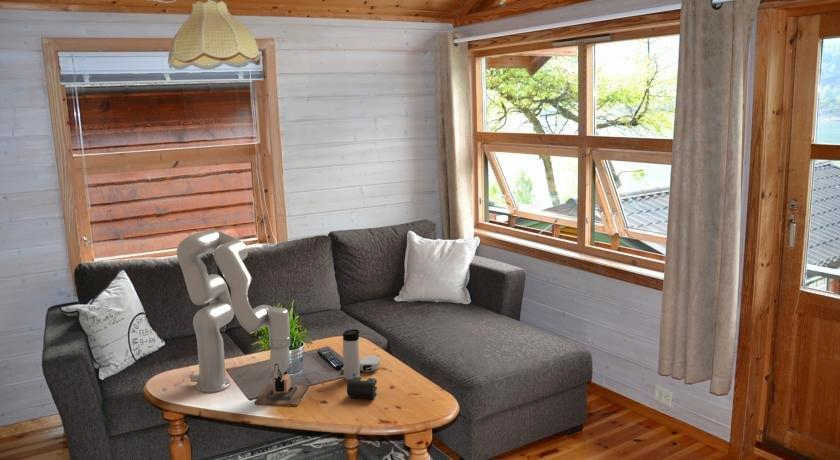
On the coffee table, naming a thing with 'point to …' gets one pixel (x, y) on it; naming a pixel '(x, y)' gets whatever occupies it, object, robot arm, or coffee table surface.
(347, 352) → the travel mug
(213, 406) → the coffee table surface
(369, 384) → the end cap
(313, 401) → the coffee table surface
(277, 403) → the holder board
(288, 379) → the terracotta cube
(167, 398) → the coffee table surface
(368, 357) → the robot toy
